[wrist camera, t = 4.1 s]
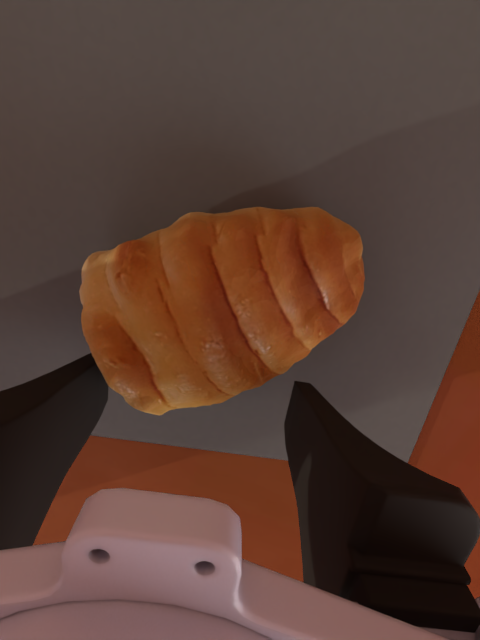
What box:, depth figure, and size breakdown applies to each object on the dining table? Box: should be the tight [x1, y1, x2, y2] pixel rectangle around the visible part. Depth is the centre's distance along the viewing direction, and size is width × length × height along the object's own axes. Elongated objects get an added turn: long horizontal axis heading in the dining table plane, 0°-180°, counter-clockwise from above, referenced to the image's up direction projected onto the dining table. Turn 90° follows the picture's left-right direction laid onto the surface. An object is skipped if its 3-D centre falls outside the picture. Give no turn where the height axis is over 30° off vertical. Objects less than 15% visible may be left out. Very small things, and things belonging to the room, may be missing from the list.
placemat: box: [0, 0, 480, 463], centre depth 13 cm, size 20×20×1 cm
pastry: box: [79, 207, 365, 416], centre depth 12 cm, size 9×7×4 cm
